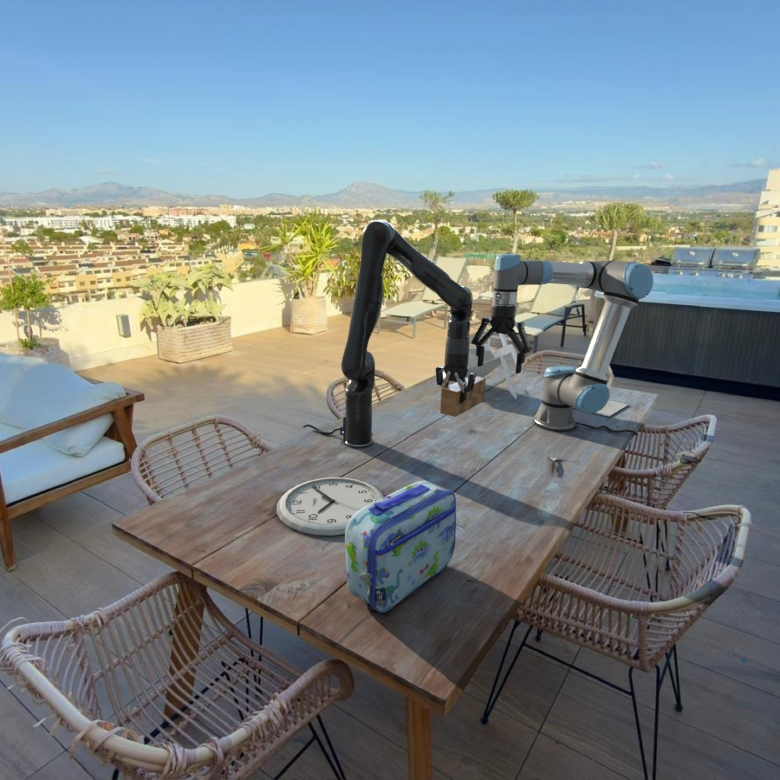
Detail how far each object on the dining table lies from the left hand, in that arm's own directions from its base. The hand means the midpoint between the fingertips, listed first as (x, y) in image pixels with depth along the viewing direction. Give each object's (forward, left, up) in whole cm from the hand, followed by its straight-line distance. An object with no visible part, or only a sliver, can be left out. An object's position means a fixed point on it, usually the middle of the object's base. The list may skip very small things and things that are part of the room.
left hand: (453, 400), depth 171 cm
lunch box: (+19, -67, -19) cm, 73 cm away
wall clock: (-13, -49, -19) cm, 54 cm away
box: (+1, +7, -4) cm, 8 cm away
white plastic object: (-17, +70, -19) cm, 75 cm away
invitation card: (+35, +80, -19) cm, 90 cm away
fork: (+32, +10, -19) cm, 39 cm away
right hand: (+11, +11, +10) cm, 18 cm away
